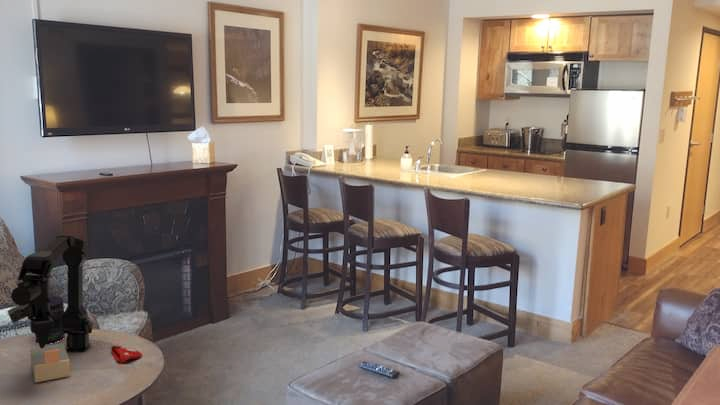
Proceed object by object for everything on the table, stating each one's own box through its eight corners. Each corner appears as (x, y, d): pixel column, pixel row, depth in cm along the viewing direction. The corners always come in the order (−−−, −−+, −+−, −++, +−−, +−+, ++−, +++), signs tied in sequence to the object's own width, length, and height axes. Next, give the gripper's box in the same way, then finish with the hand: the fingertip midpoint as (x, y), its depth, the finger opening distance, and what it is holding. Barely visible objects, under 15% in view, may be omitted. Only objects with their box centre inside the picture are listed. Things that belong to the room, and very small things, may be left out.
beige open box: (31, 364, 204) (29, 337, 202) (64, 358, 209) (63, 332, 208) (35, 382, 192) (34, 354, 190) (70, 375, 197) (69, 348, 196)
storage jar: (38, 335, 229) (36, 297, 226) (67, 333, 232) (65, 296, 229) (33, 346, 219) (31, 306, 217) (63, 343, 222) (61, 305, 220)
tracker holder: (146, 349, 219) (137, 355, 209) (142, 361, 218) (133, 367, 208) (113, 340, 218) (103, 345, 209) (109, 352, 218) (99, 358, 208)
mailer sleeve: (31, 365, 205) (30, 348, 203) (63, 359, 210) (63, 343, 209) (35, 382, 193) (34, 364, 192) (69, 376, 198) (69, 358, 197)
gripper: (7, 290, 193) (9, 336, 195) (10, 307, 177) (12, 358, 180) (47, 285, 199) (48, 331, 201) (53, 302, 183) (54, 351, 185)
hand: (40, 342), depth 192 cm, fingers open, 9 cm apart
